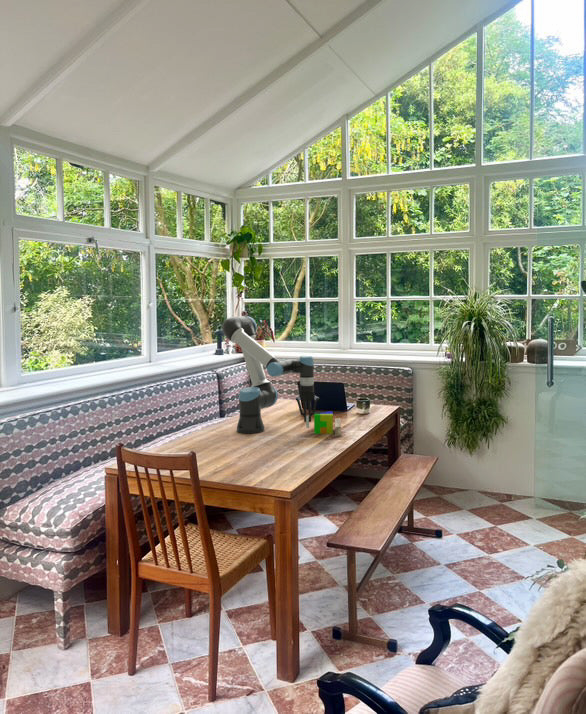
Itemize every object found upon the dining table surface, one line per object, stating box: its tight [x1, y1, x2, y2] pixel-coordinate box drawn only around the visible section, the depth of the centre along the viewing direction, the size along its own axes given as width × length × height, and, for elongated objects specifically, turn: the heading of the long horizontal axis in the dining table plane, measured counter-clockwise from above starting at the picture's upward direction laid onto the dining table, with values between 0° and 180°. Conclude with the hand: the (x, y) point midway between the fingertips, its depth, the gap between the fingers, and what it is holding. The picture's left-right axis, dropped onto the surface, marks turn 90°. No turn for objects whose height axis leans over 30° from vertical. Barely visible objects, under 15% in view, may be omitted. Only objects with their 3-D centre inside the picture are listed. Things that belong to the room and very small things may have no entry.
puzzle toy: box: [313, 411, 334, 435], centre depth 338 cm, size 10×10×10 cm
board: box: [334, 417, 342, 437], centre depth 337 cm, size 3×22×5 cm, turn 176°
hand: (307, 427), depth 338 cm, fingers closed
